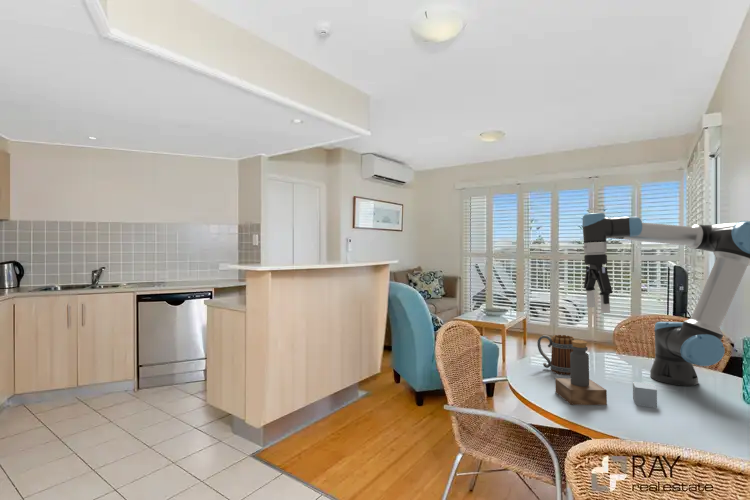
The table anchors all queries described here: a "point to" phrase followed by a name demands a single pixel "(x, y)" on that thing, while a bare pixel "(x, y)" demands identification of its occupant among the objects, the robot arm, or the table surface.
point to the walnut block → (581, 392)
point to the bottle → (579, 364)
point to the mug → (558, 353)
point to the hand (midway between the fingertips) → (598, 309)
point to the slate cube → (644, 394)
